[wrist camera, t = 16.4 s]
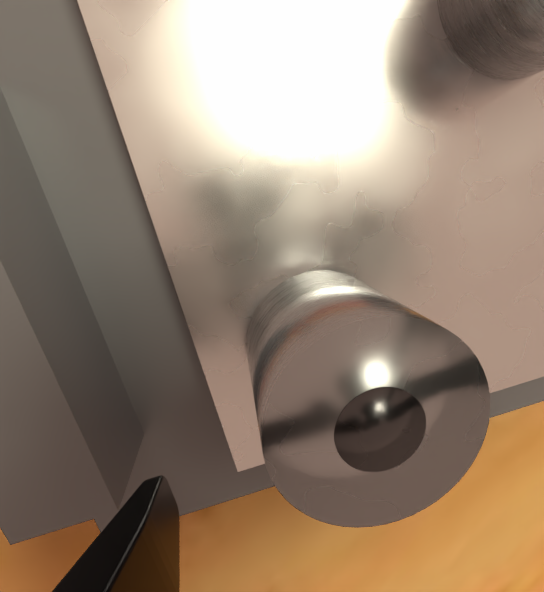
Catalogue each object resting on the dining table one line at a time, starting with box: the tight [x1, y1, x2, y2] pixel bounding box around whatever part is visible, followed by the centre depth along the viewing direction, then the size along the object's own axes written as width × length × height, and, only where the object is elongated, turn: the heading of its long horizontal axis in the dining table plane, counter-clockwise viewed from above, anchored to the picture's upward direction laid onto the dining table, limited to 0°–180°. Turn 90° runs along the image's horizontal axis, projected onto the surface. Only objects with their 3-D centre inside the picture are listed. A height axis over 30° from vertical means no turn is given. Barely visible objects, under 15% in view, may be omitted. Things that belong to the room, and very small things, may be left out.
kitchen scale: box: [0, 0, 544, 545], centre depth 12 cm, size 24×20×6 cm
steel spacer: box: [246, 270, 490, 527], centre depth 10 cm, size 5×5×5 cm
